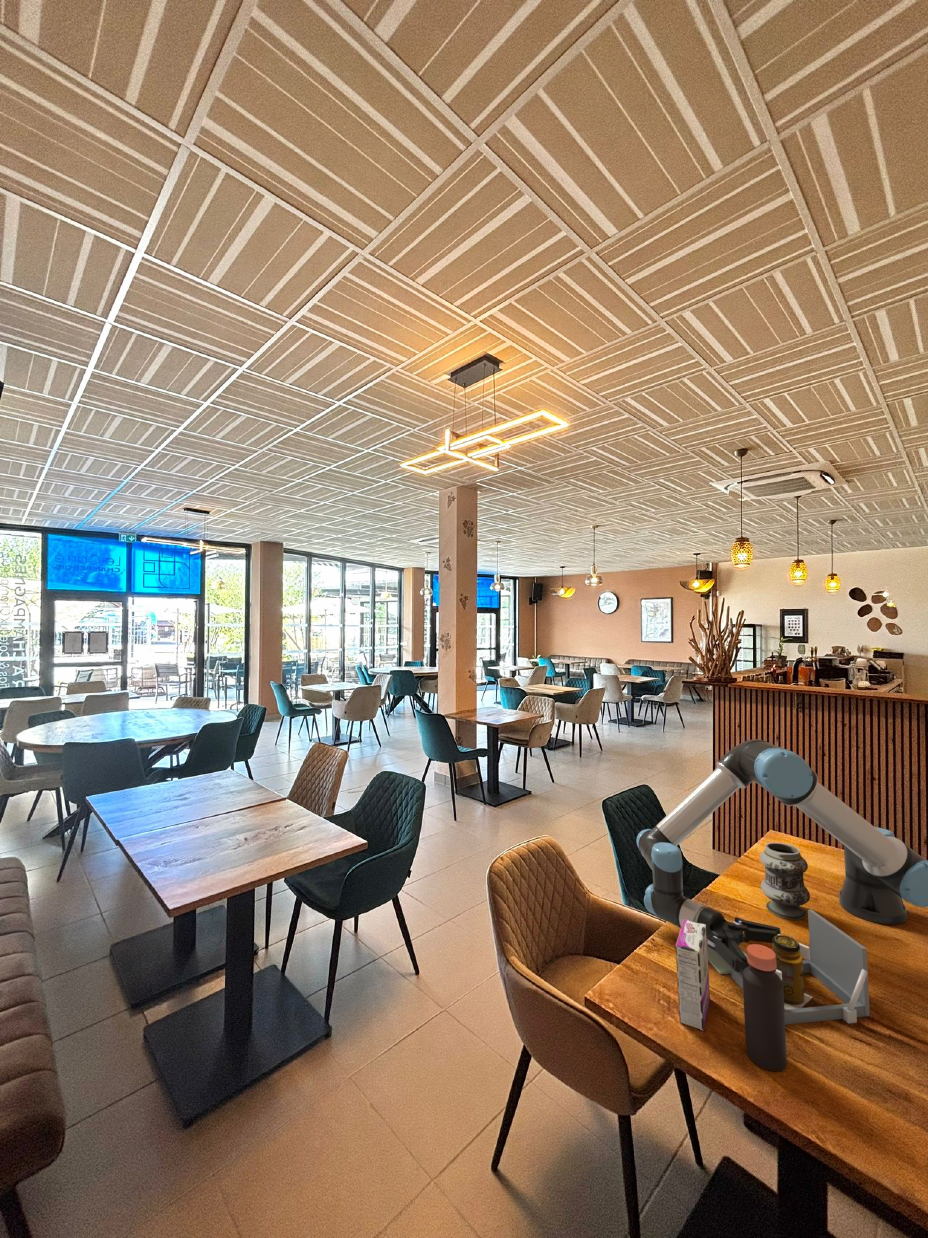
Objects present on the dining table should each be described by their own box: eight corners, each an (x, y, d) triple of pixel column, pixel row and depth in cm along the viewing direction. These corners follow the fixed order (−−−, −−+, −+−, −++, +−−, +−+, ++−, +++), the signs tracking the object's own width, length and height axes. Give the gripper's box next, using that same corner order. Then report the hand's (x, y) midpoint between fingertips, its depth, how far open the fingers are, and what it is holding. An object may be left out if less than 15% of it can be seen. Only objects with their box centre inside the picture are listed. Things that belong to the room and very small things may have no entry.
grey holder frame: (814, 969, 121) (811, 909, 122) (875, 1020, 105) (871, 952, 105) (730, 976, 119) (728, 916, 120) (779, 1030, 103) (776, 961, 104)
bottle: (772, 1042, 100) (767, 940, 101) (795, 1072, 94) (790, 962, 94) (738, 1044, 100) (733, 941, 101) (759, 1074, 93) (754, 964, 94)
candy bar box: (686, 990, 115) (683, 917, 116) (710, 998, 113) (707, 924, 113) (677, 1023, 106) (674, 944, 106) (704, 1033, 103) (700, 951, 104)
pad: (734, 945, 131) (734, 942, 131) (760, 971, 121) (760, 968, 121) (697, 948, 130) (697, 946, 130) (720, 974, 120) (720, 972, 120)
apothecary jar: (792, 898, 152) (789, 838, 153) (821, 921, 140) (818, 856, 141) (752, 900, 152) (750, 840, 152) (778, 923, 140) (775, 858, 140)
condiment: (812, 998, 112) (809, 943, 112) (794, 1015, 107) (791, 957, 108) (777, 979, 118) (775, 927, 118) (758, 995, 113) (756, 940, 114)
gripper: (729, 920, 135) (820, 961, 118) (674, 956, 121) (769, 1009, 104) (728, 891, 135) (819, 928, 118) (673, 924, 121) (767, 972, 104)
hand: (795, 966), depth 111 cm, fingers open, 13 cm apart
